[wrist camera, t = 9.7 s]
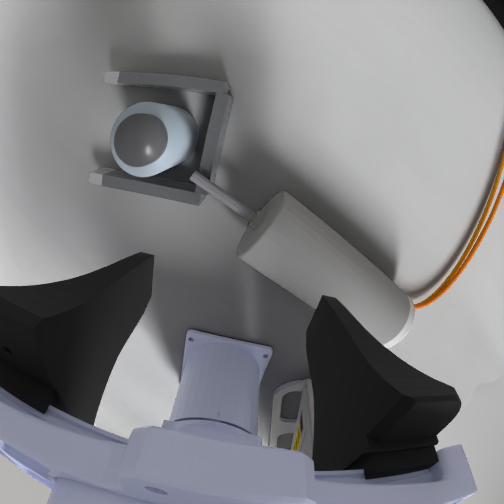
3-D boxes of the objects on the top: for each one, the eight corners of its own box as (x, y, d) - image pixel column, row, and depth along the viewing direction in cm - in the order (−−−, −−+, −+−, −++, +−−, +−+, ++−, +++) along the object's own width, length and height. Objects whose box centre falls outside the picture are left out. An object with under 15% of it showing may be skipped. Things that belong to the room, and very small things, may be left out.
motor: (382, 345, 25) (406, 376, 20) (177, 203, 20) (160, 216, 15) (503, 164, 20) (537, 170, 15) (357, -8, 15) (381, -35, 10)
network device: (321, 459, 37) (329, 563, 18) (267, 461, 37) (264, 567, 19) (362, 355, 26) (410, 544, 8) (275, 358, 26) (274, 568, 8)
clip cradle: (210, 198, 20) (204, 207, 18) (103, 177, 20) (88, 182, 18) (236, 87, 17) (232, 82, 15) (119, 75, 16) (105, 71, 14)
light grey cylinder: (186, 174, 20) (161, 190, 15) (133, 156, 19) (96, 167, 14) (207, 115, 18) (187, 112, 13) (151, 99, 17) (116, 93, 13)
